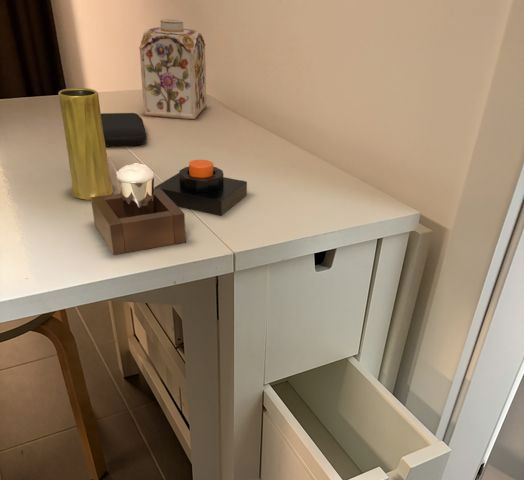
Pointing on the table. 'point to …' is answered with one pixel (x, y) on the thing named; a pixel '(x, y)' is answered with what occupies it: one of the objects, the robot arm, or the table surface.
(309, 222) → the table surface
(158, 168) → the table surface
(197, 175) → the button
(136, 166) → the milkshake
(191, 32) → the decorative jar
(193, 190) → the confirm box
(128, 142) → the carrying case
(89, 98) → the vase
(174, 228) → the socket
